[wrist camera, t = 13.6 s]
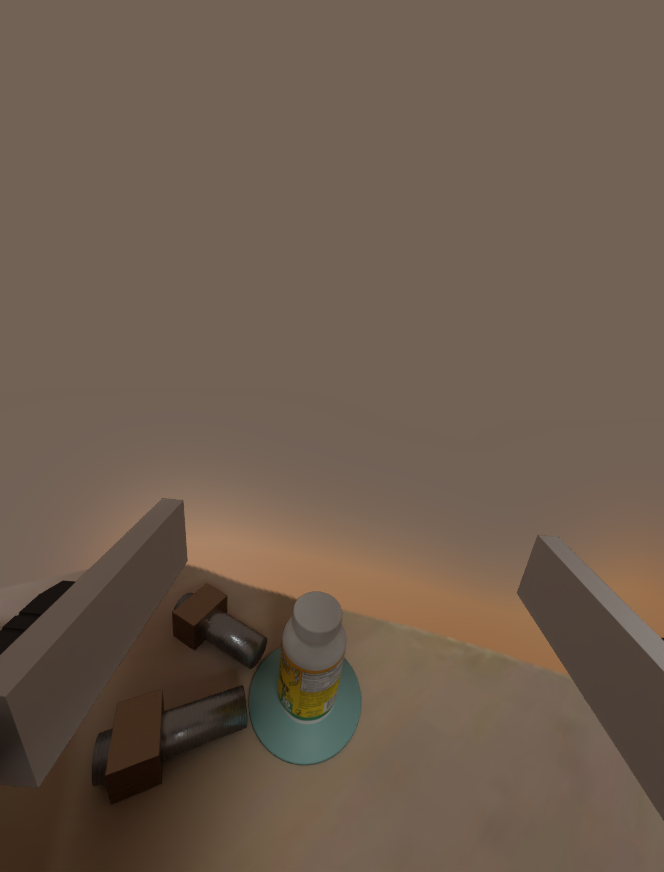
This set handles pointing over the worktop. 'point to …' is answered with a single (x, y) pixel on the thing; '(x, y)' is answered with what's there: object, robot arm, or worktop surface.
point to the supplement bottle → (311, 658)
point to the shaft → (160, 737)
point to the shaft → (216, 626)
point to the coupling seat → (302, 739)
